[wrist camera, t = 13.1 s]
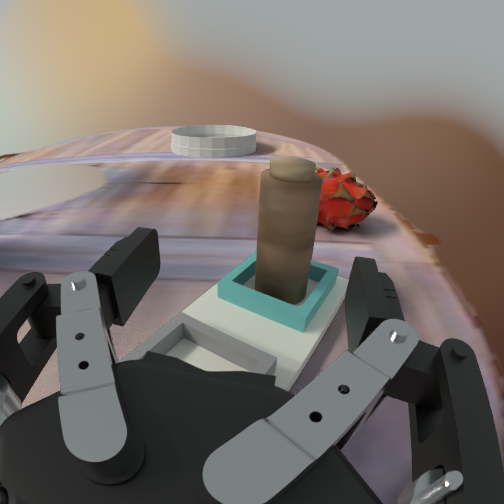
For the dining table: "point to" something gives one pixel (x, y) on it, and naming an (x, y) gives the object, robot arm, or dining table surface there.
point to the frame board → (251, 326)
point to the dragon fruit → (343, 200)
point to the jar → (287, 228)
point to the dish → (213, 141)
